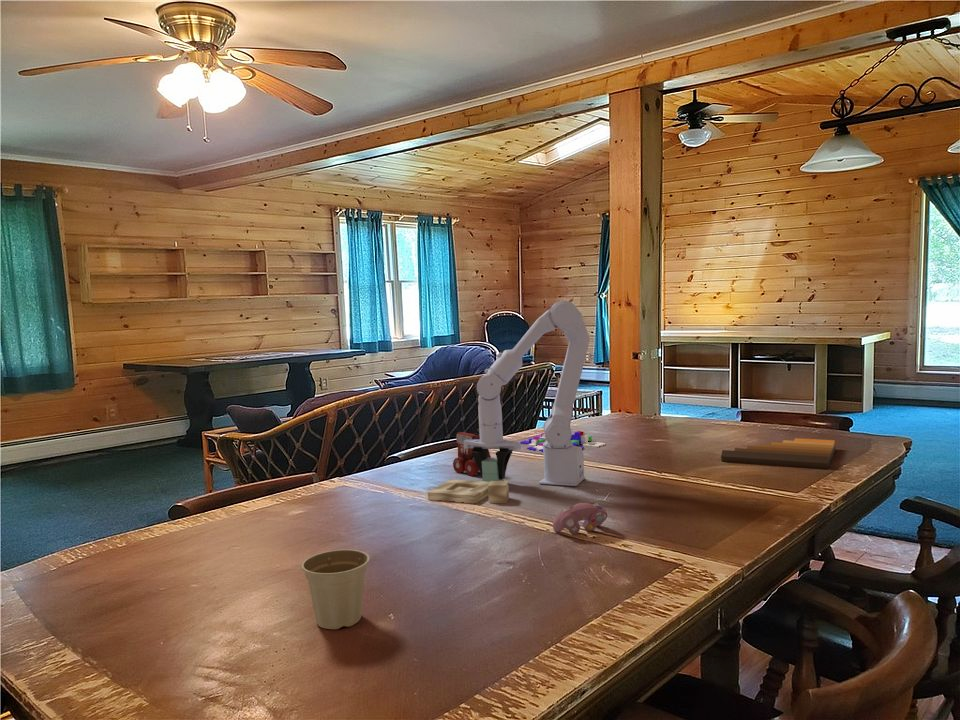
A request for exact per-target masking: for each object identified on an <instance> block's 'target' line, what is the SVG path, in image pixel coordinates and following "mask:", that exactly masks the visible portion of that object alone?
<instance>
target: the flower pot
mask: <svg viewBox="0 0 960 720" xmlns="http://www.w3.org/2000/svg"><path fill="white" fill-rule="evenodd" d="M370 561H371V559H370V555H369V554H368V553H367V552H365V551H361V550H357V549H335V550H326V551H322V552H320V553H319V552H318V553H315V554H313V555H311V556H309V557H308V558H306V559H305V560H303V562H302V563H301V570H302V571H303V572H304V576H305V578H306V580H307V581H308V585H309V592H310V595H311V600H312V604H313V605H312V606H313V611H314V616H315V622H316V623H317V625H318V626H319V627H320V628H322V629H326V630H327V629H328V630H339V629H340V628H342V627H348V628H350V627H352V626H354V625H355V624H357V623H358V622H359V621H360V620H361V618H362V611H363V598H364V597H363V596H364V587H365V586H364V585H365V577H366V572H367V569H368V568H367V567H368V565H369V563H370Z"/></svg>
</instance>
